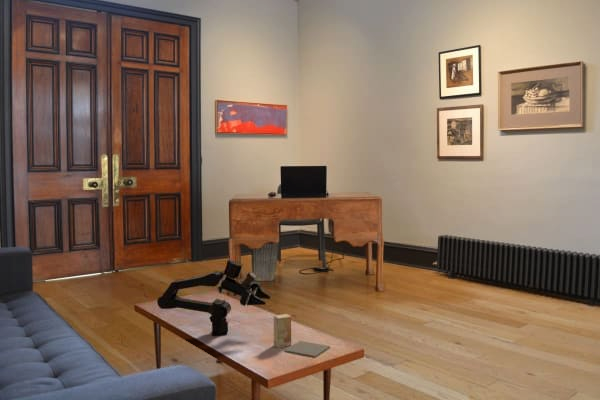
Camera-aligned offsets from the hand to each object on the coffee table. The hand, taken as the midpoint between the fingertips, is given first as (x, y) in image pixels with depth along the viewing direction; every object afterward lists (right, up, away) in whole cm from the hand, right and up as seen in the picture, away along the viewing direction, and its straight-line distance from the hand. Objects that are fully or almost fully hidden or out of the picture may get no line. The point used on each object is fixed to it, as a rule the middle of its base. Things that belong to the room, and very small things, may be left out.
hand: (268, 300), depth 235 cm
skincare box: (+7, -16, -12) cm, 21 cm away
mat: (+17, -16, -18) cm, 29 cm away
